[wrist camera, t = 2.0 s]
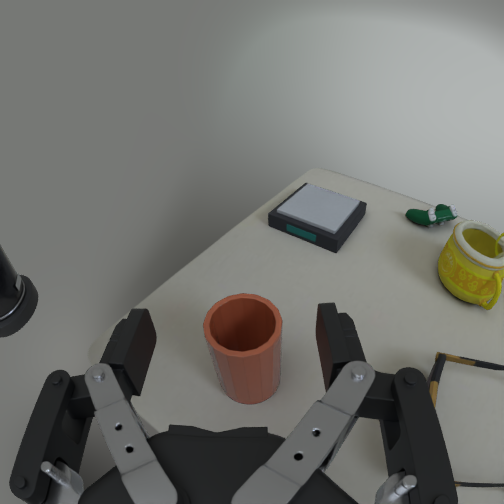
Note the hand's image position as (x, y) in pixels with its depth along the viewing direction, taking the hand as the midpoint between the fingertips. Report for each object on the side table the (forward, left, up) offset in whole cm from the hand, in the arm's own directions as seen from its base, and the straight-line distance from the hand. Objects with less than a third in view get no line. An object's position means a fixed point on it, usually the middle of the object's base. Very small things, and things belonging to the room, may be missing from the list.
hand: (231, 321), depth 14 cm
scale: (+18, +30, -18) cm, 40 cm away
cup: (+1, +6, -18) cm, 19 cm away
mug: (+34, +9, -19) cm, 40 cm away
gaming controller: (+38, +24, -19) cm, 49 cm away
